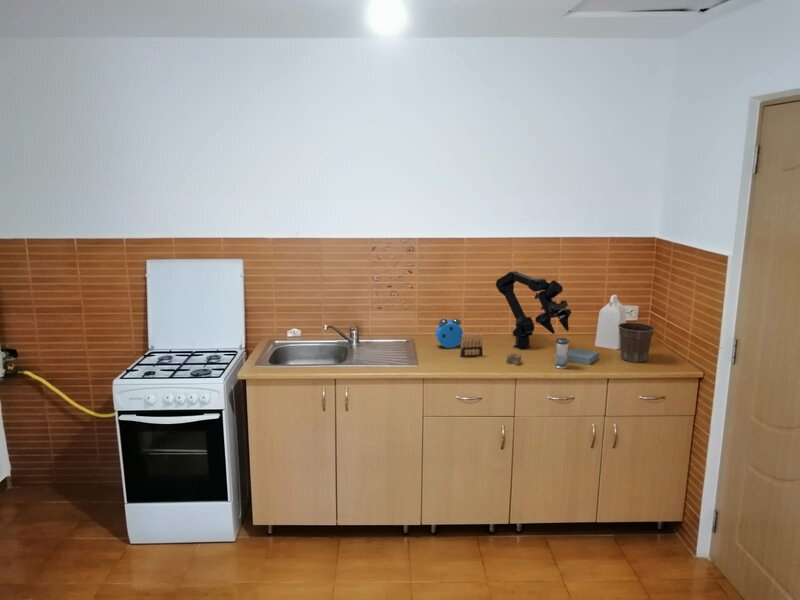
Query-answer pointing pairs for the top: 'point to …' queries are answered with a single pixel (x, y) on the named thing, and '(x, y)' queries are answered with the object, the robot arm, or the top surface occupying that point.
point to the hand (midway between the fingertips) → (561, 332)
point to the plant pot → (635, 341)
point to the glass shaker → (561, 353)
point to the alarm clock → (449, 333)
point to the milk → (610, 324)
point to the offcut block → (513, 358)
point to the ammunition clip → (471, 346)
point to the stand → (582, 356)
